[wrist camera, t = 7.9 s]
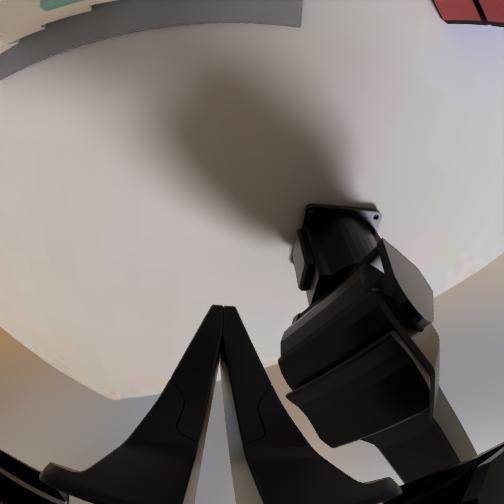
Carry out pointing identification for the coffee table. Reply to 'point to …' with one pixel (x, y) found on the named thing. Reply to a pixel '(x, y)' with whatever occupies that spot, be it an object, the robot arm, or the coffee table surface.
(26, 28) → the domino
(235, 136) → the coffee table surface
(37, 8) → the domino
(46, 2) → the domino
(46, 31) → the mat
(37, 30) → the domino
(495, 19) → the puzzle cube
